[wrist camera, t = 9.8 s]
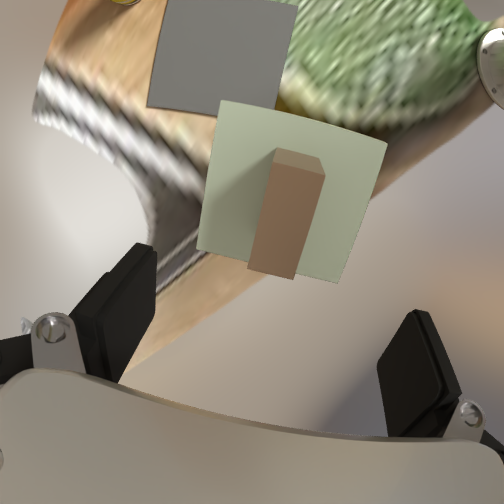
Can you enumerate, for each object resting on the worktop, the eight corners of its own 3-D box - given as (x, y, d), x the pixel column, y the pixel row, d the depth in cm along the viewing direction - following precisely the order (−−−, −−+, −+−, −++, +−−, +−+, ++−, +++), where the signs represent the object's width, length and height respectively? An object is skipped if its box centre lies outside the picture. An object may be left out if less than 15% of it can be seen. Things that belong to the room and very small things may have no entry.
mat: (298, 7, 28) (298, 6, 28) (270, 126, 36) (269, 126, 36) (171, -7, 28) (170, -8, 28) (148, 105, 36) (147, 105, 36)
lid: (384, 142, 20) (411, 157, 15) (336, 278, 26) (344, 322, 21) (223, 99, 21) (200, 101, 16) (198, 244, 26) (176, 282, 21)
